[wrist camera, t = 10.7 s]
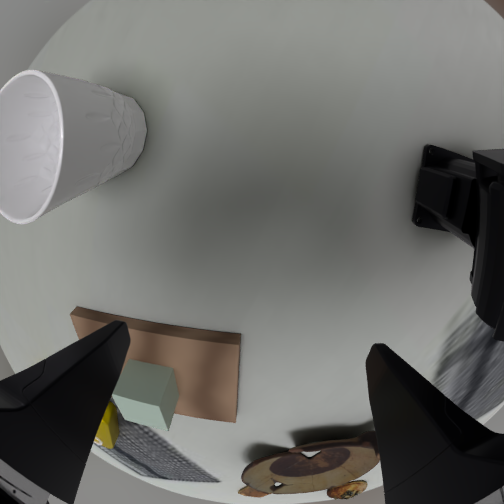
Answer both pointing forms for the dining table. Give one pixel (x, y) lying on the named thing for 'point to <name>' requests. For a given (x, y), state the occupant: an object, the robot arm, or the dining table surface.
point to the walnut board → (181, 360)
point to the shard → (252, 492)
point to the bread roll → (347, 490)
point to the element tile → (108, 428)
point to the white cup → (61, 141)
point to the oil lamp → (314, 466)
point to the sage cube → (147, 394)
